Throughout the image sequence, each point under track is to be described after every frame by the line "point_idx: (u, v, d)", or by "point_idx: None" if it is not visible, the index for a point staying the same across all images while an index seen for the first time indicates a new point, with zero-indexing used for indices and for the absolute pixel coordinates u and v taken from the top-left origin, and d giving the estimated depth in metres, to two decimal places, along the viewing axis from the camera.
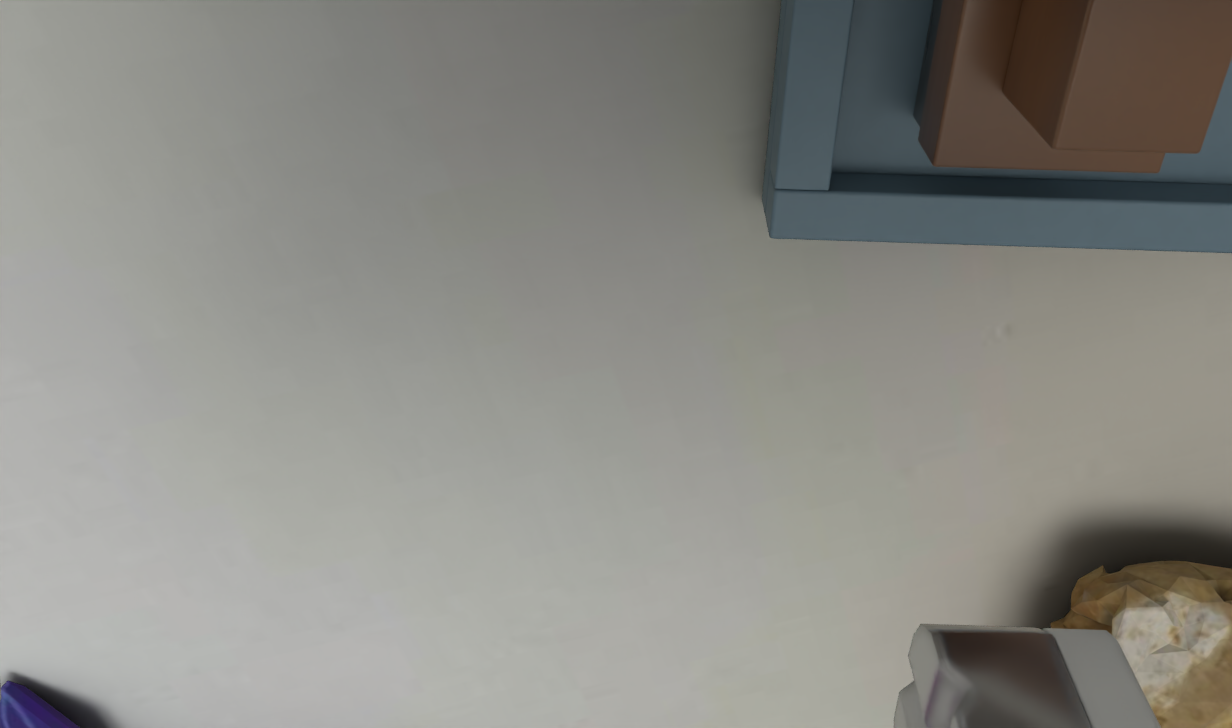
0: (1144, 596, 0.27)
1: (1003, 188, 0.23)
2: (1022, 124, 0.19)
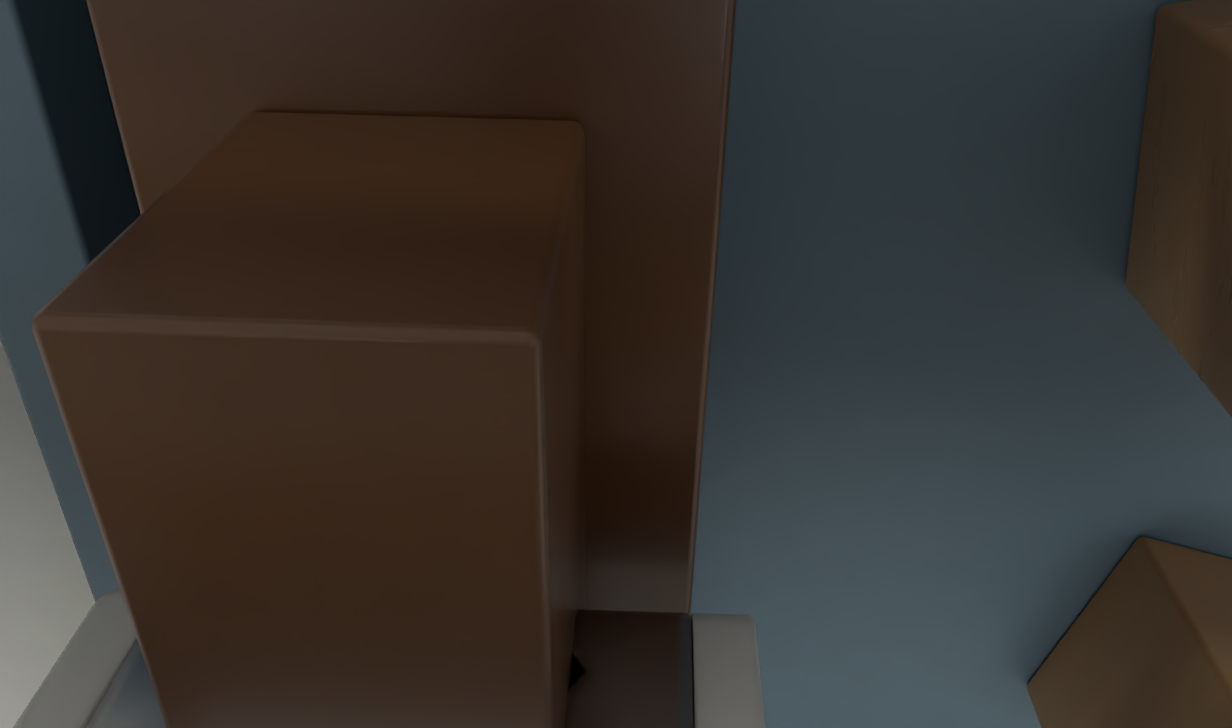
0: None
1: None
2: None
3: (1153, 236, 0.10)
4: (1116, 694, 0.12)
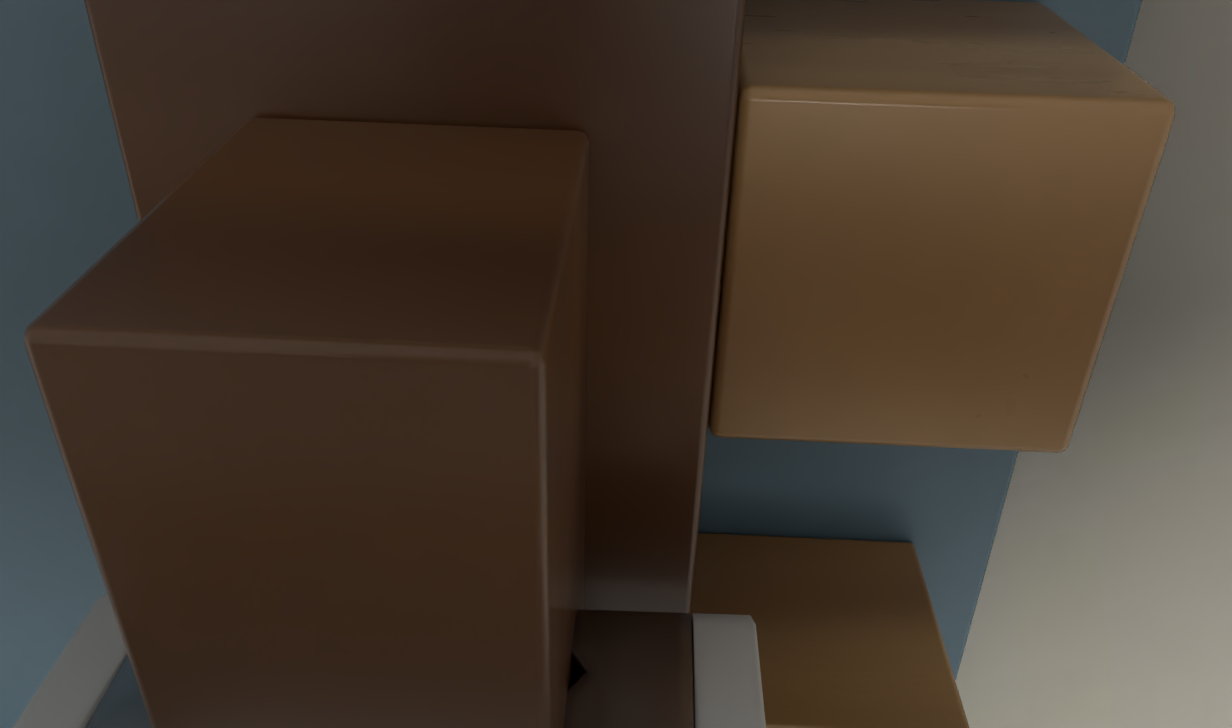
0: None
1: None
2: None
3: None
4: None
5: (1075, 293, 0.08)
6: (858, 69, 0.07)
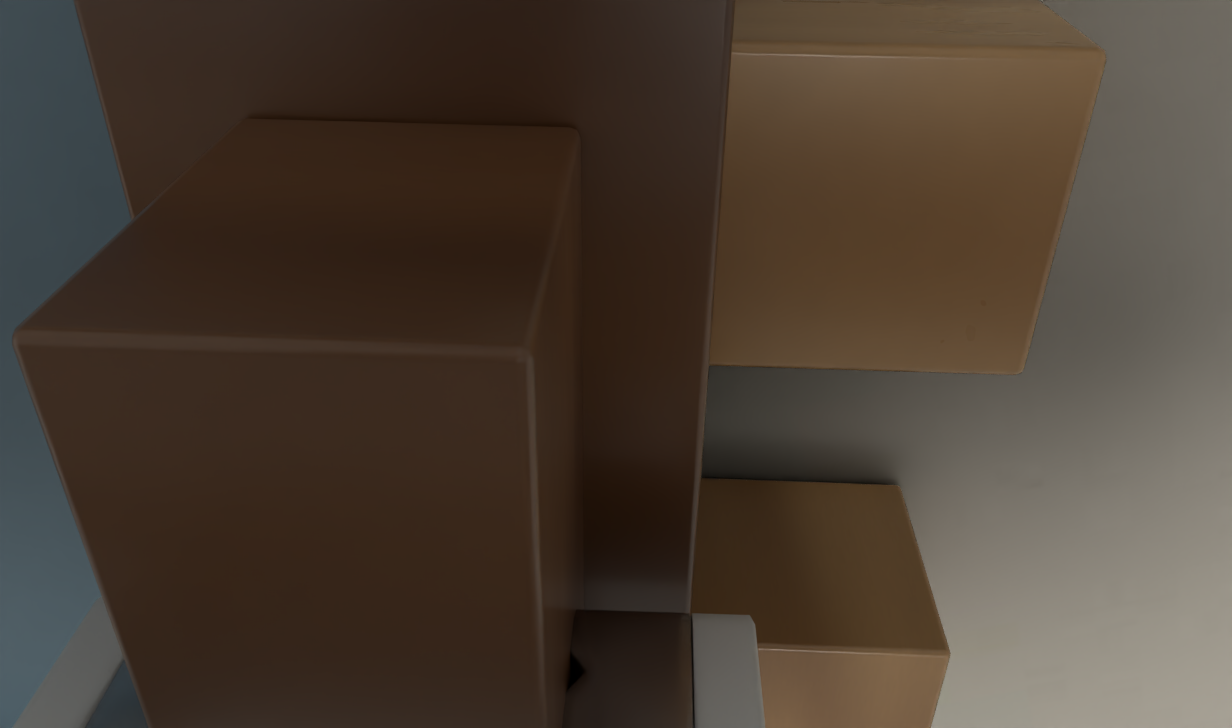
0: None
1: None
2: None
3: None
4: None
5: (1025, 226, 0.09)
6: (826, 27, 0.08)
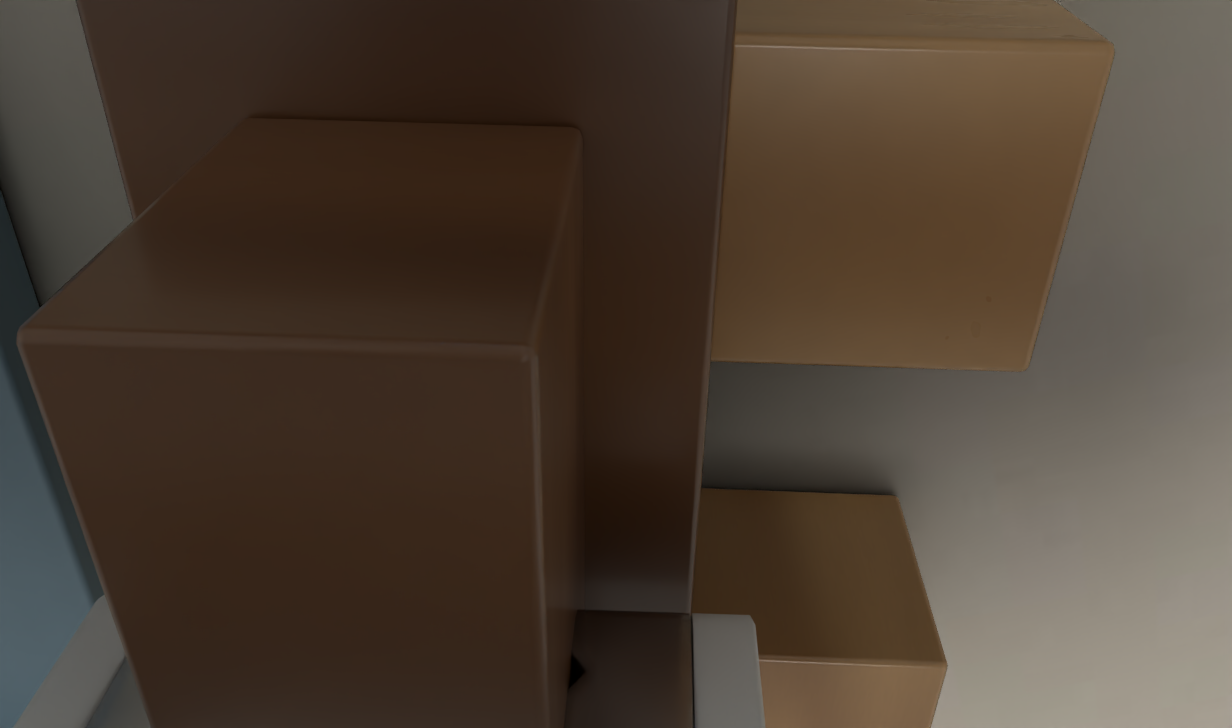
0: None
1: None
2: None
3: None
4: None
5: (1031, 221, 0.08)
6: (832, 20, 0.08)
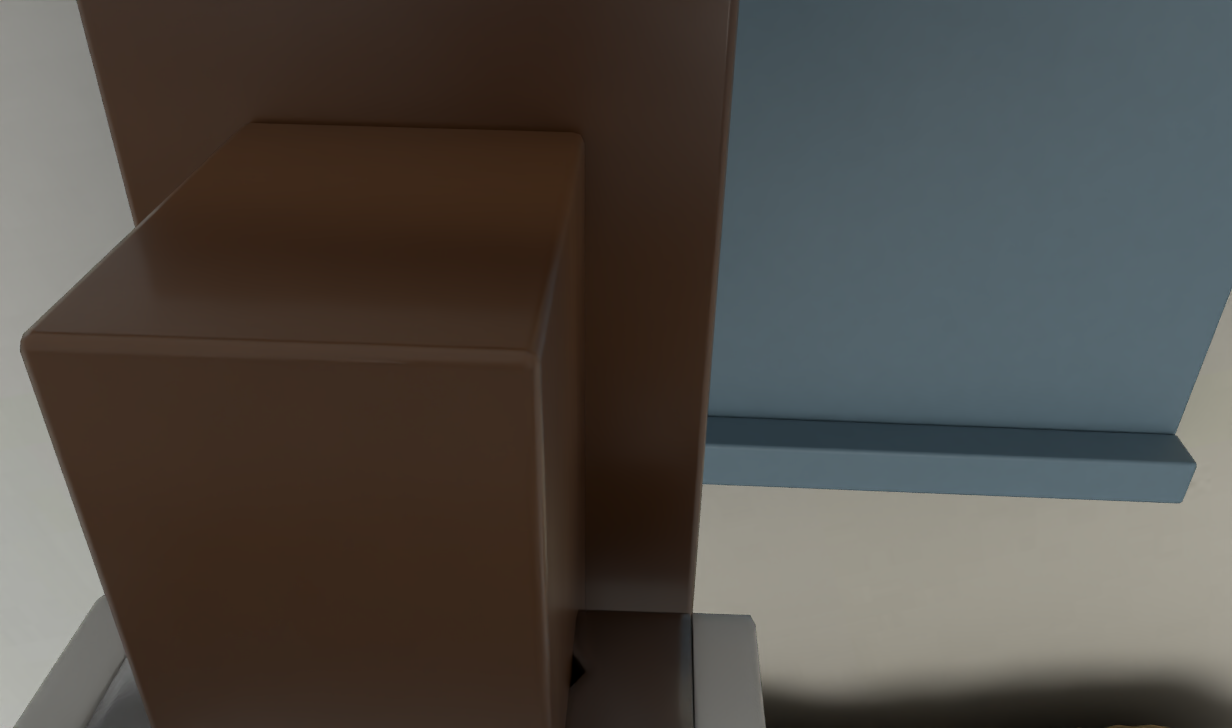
0: None
1: None
2: None
3: None
4: None
5: None
6: None
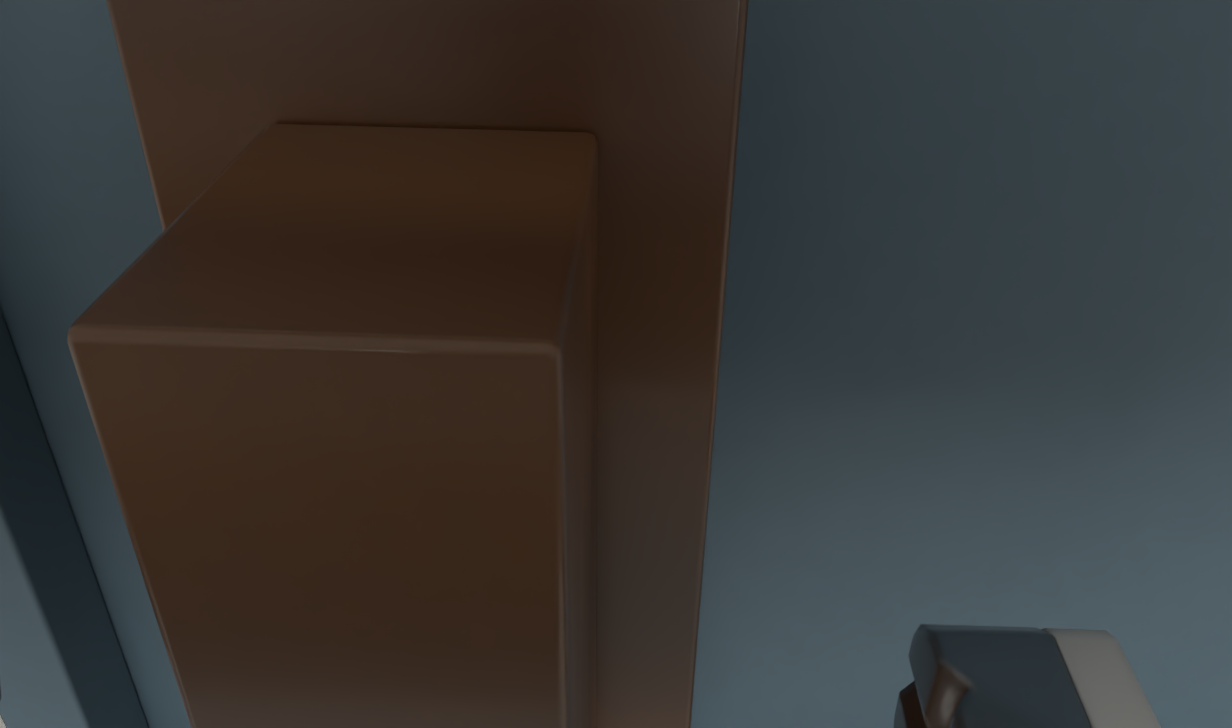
0: None
1: None
2: None
3: None
4: None
5: None
6: None
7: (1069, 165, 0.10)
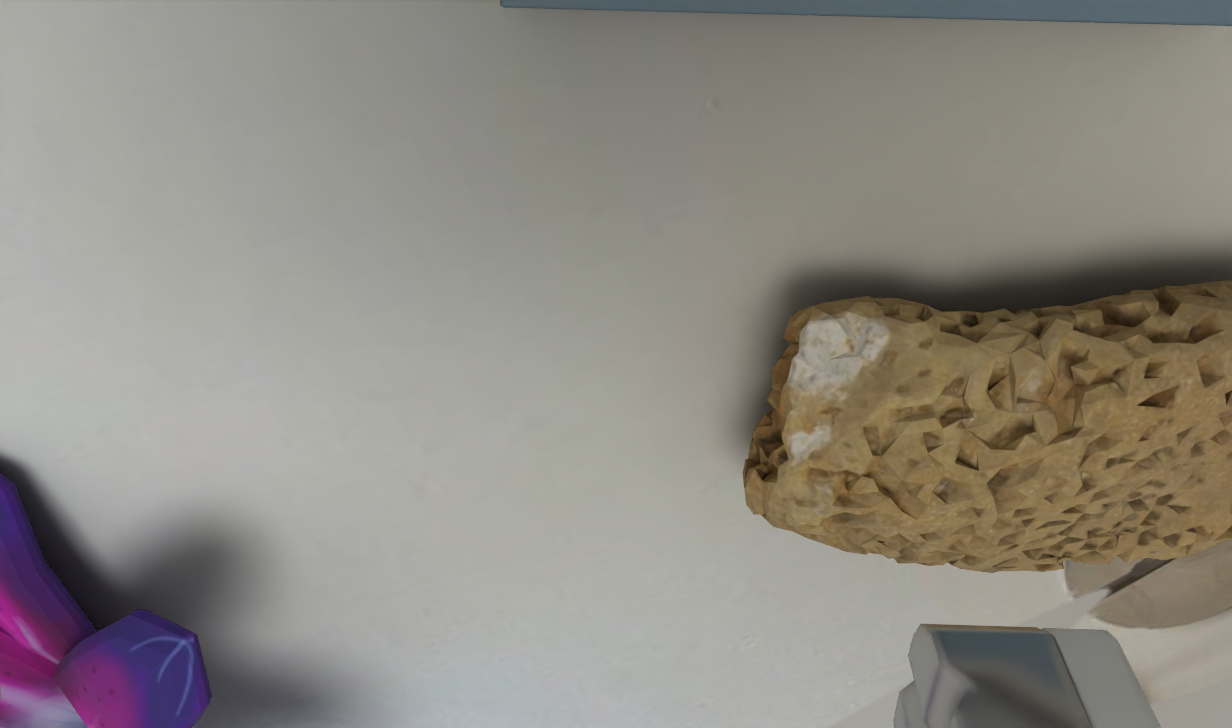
0: None
1: None
2: None
3: None
4: None
5: None
6: None
7: None
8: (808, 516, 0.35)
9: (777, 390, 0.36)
